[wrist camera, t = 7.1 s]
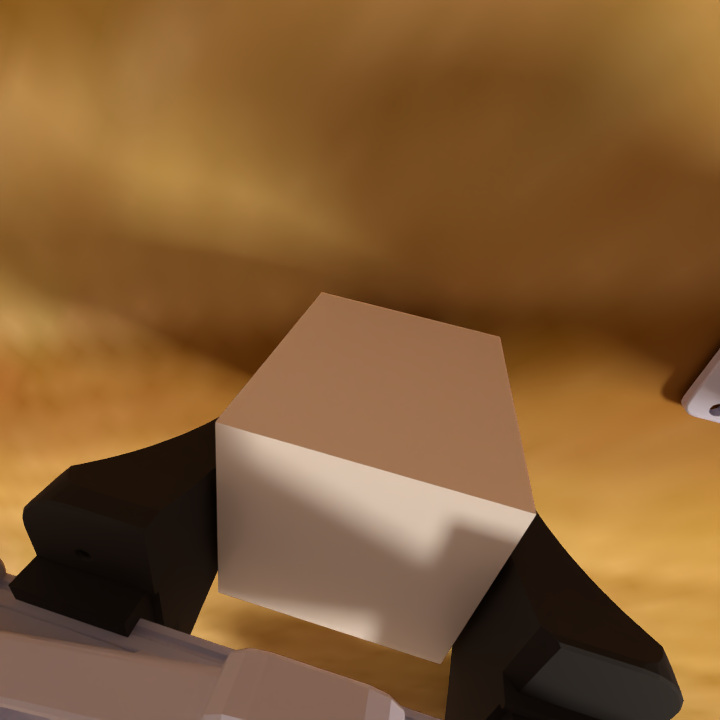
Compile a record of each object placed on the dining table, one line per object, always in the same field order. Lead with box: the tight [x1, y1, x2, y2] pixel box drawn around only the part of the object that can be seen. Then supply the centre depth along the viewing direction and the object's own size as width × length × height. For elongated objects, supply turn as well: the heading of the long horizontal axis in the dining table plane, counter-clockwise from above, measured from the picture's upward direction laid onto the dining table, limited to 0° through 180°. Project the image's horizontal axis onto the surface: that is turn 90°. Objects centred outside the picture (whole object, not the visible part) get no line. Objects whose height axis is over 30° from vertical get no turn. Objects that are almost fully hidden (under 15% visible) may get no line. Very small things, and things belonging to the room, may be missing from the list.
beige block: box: [215, 292, 536, 664], centre depth 12 cm, size 6×6×7 cm
